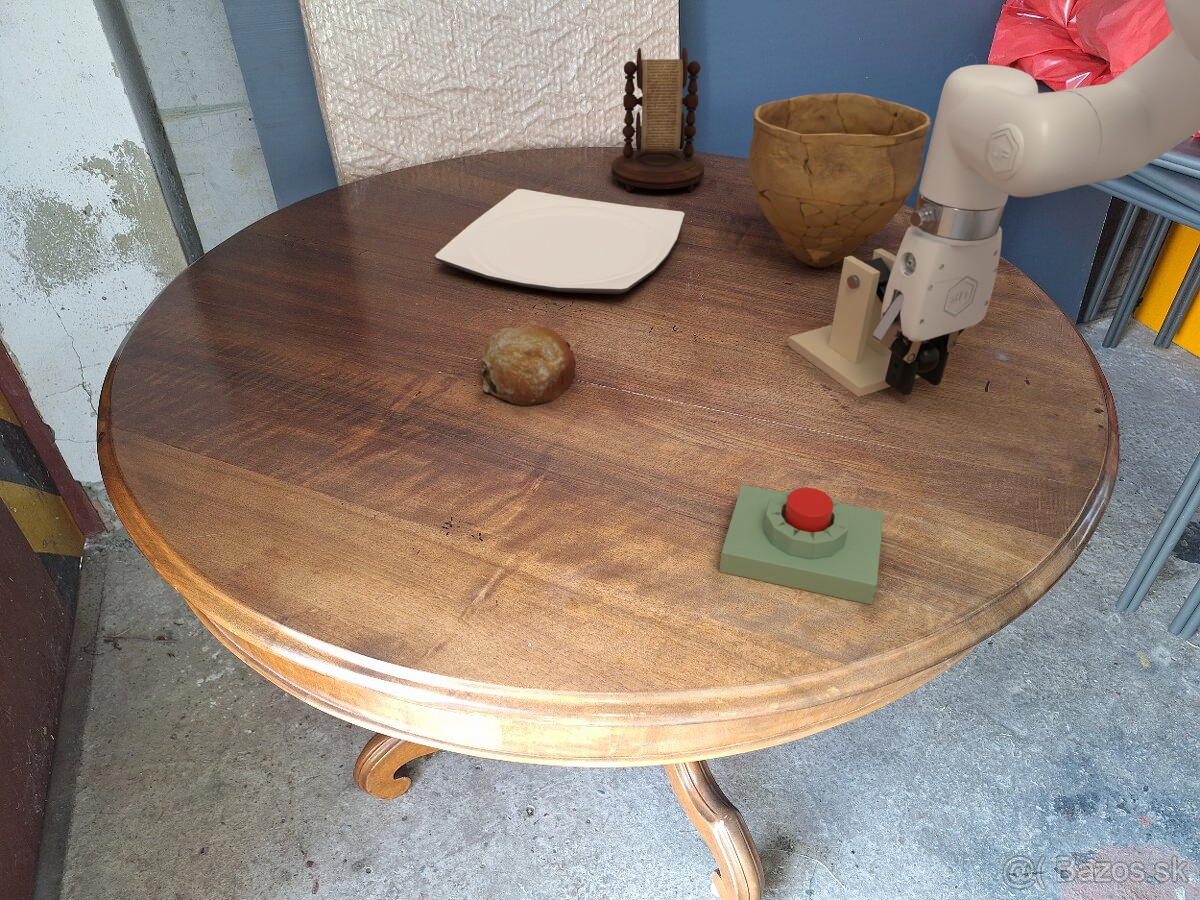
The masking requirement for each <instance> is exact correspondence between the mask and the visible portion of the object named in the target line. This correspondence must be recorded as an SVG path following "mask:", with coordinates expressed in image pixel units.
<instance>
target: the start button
mask: <svg viewBox="0 0 1200 900" xmlns="http://www.w3.org/2000/svg"><path fill="white" fill-rule="evenodd" d="M795 489H796V490H794V489H793V490H794V491H792V492H791V493H790V494H789V495H788V498H787V503H786V509H785V519H786V521H787V523H788V524H789V525H791V526H792V527H794V528H796V529H797V530H801V531H806V532H811V533H813V532H820V531H823V530H825V529H826V528H827V527H828V526H829V524H830V520H831V515H832V510H833V501H832V499H831V498H830V497H831V496H830V495H828V493H826V492H825V491H823V490H820V489H817V488H813V487H799V488H795ZM829 496H830V497H829Z"/></svg>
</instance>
